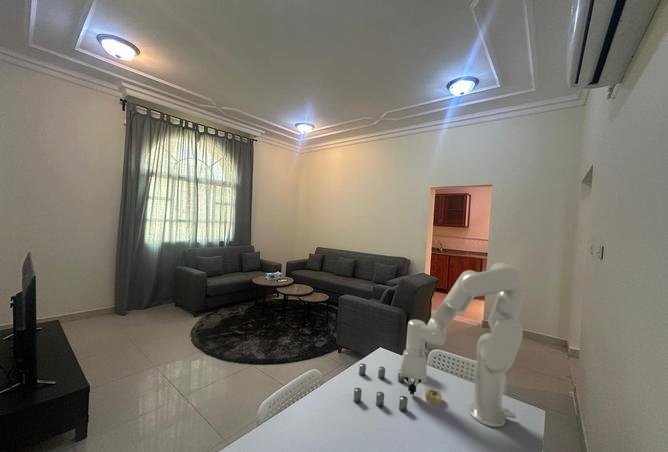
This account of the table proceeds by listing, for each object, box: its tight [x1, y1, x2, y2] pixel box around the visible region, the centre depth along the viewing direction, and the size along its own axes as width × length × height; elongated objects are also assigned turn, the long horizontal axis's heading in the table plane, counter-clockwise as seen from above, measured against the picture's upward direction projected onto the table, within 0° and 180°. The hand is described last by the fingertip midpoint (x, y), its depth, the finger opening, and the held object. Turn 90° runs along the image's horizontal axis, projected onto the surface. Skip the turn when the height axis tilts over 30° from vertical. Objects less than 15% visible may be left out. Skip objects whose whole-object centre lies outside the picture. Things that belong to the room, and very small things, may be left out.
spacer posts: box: [353, 363, 408, 413], centre depth 121 cm, size 21×23×4 cm
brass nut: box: [424, 387, 443, 406], centre depth 117 cm, size 7×6×3 cm
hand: (411, 392), depth 119 cm, fingers closed
